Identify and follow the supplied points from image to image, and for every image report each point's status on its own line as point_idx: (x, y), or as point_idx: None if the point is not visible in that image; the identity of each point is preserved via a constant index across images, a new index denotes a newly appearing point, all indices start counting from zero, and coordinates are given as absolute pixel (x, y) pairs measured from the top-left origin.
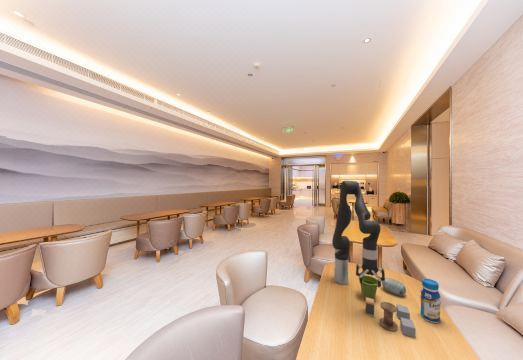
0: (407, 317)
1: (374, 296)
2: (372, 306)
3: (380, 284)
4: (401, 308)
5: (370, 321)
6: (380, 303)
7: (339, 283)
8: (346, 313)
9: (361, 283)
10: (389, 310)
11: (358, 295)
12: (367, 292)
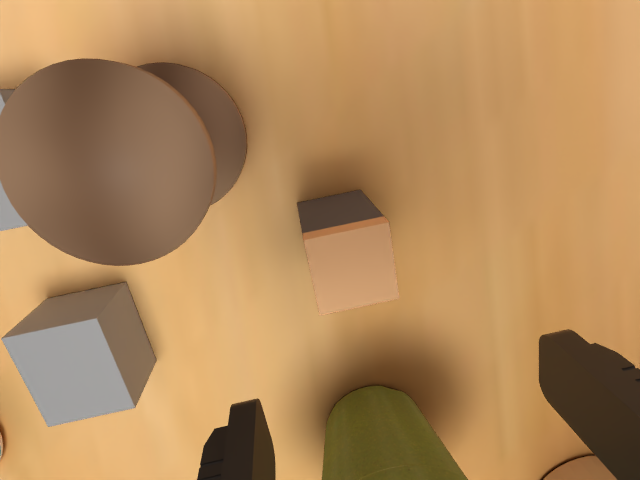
0: (44, 311)
1: (328, 433)
2: (317, 223)
3: (208, 472)
4: (83, 371)
5: (311, 97)
6: (210, 168)
7: (595, 457)
8: (511, 78)
9: (563, 335)
10: (66, 62)
11: (442, 396)
12: (389, 426)
